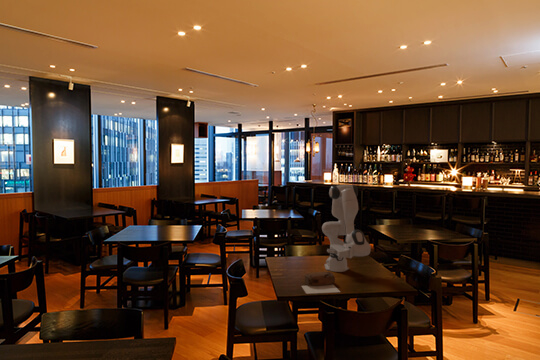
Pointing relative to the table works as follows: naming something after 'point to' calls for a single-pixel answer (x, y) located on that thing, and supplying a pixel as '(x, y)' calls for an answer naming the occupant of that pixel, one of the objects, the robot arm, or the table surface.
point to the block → (319, 278)
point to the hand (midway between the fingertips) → (327, 250)
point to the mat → (320, 289)
